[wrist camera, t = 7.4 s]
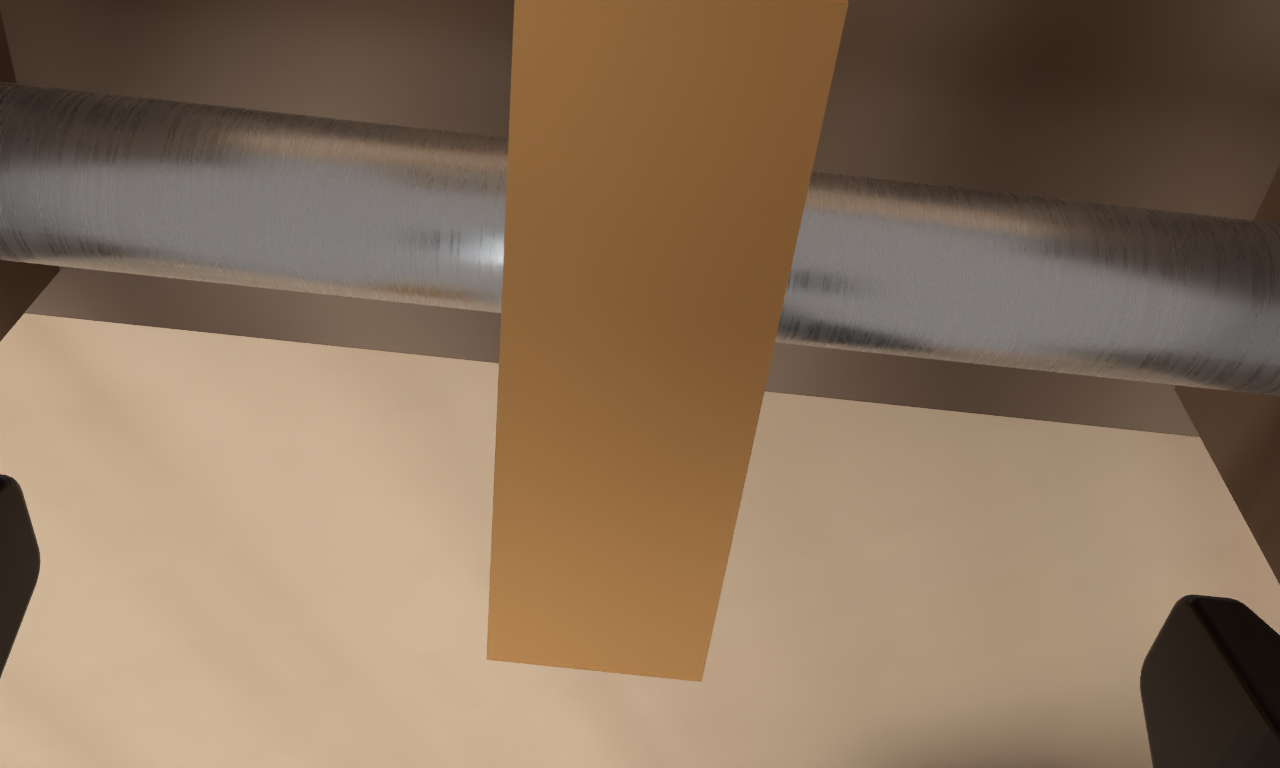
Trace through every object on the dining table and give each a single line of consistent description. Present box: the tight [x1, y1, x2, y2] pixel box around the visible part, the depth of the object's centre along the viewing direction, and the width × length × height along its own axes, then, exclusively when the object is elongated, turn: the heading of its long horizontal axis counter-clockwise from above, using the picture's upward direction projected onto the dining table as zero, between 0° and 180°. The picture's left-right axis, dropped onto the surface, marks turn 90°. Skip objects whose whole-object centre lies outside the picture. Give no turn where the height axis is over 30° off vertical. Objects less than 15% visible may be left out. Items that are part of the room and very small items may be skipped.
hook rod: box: [0, 82, 1280, 396], centre depth 14 cm, size 22×2×2 cm, turn 84°
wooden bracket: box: [487, 0, 848, 682], centre depth 14 cm, size 2×8×6 cm, turn 174°
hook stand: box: [0, 0, 1280, 584], centre depth 16 cm, size 28×12×8 cm, turn 84°
